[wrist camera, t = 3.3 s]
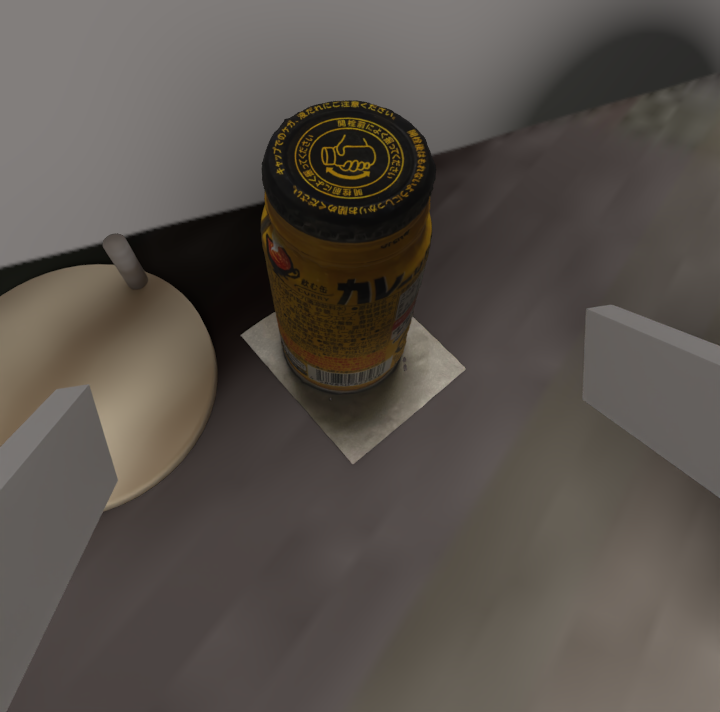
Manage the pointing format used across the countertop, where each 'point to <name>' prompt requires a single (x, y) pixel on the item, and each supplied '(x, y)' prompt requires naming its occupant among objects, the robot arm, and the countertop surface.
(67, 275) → the flange base
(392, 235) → the condiment
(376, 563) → the countertop surface
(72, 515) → the robot arm
